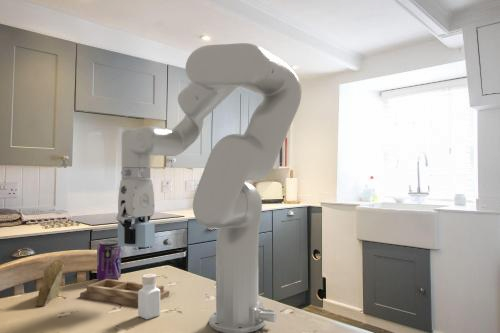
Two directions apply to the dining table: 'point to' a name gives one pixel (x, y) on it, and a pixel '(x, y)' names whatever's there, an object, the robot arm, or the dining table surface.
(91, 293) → the frame
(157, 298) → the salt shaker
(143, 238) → the light blue block
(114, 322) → the dining table surface
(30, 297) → the dining table surface
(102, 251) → the beverage can
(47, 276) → the rock
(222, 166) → the robot arm
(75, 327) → the dining table surface
